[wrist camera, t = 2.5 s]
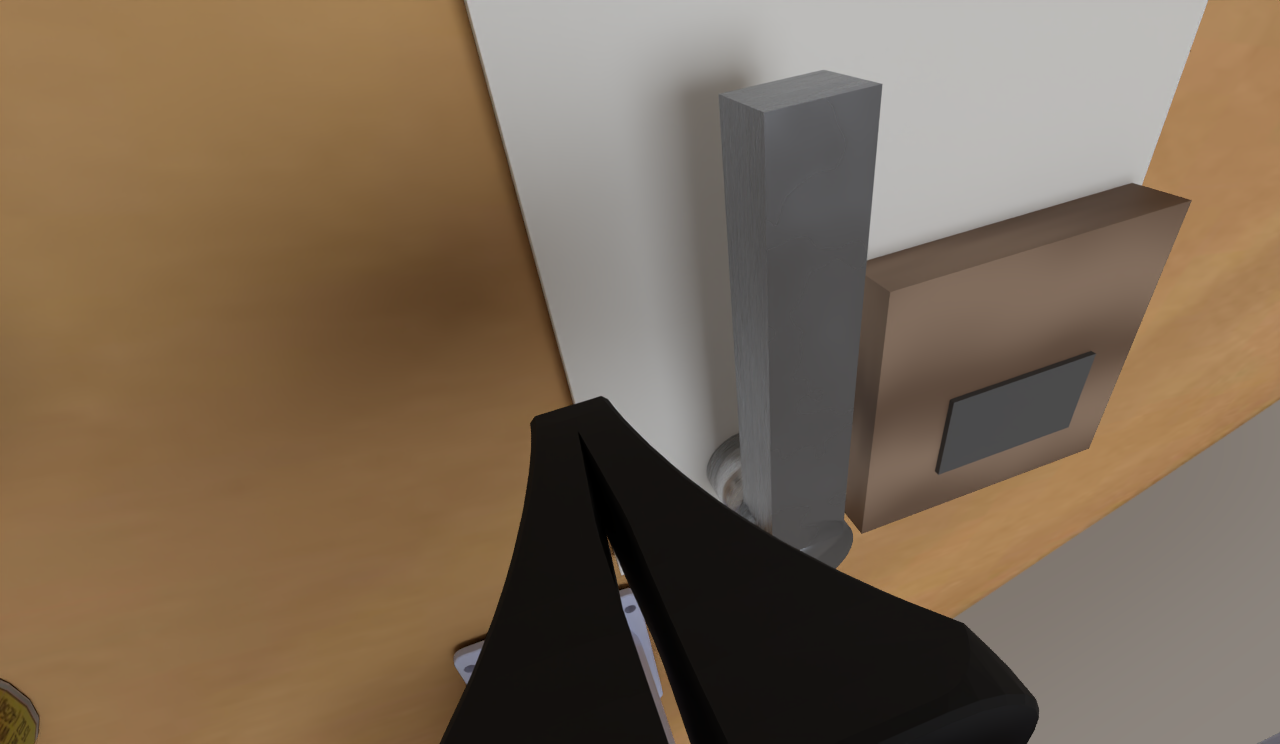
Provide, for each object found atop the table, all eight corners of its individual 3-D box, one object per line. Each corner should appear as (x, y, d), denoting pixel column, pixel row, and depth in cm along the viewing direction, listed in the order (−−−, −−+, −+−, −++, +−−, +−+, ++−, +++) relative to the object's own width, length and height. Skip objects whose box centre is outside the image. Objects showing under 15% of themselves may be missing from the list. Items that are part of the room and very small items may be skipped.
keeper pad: (1064, 424, 24) (1068, 427, 24) (934, 471, 23) (938, 475, 23) (1091, 350, 22) (1096, 353, 22) (950, 399, 21) (954, 402, 21)
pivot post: (780, 476, 24) (809, 516, 22) (709, 500, 23) (733, 544, 21) (779, 419, 22) (811, 458, 20) (703, 444, 21) (729, 487, 20)
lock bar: (817, 525, 22) (849, 570, 20) (736, 556, 21) (762, 603, 19) (840, 65, 13) (901, 79, 11) (700, 97, 12) (743, 116, 11)
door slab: (1049, 420, 27) (1088, 448, 26) (833, 498, 25) (861, 533, 24) (1132, 182, 21) (1191, 200, 19) (850, 265, 19) (890, 292, 17)
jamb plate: (1040, 404, 28) (1058, 417, 27) (615, 556, 25) (621, 575, 24) (1225, -157, 16) (1266, -163, 15) (459, -15, 13) (462, -15, 12)
